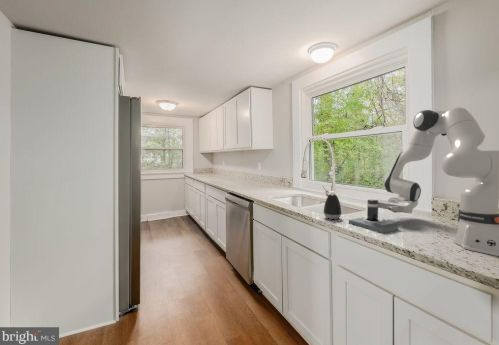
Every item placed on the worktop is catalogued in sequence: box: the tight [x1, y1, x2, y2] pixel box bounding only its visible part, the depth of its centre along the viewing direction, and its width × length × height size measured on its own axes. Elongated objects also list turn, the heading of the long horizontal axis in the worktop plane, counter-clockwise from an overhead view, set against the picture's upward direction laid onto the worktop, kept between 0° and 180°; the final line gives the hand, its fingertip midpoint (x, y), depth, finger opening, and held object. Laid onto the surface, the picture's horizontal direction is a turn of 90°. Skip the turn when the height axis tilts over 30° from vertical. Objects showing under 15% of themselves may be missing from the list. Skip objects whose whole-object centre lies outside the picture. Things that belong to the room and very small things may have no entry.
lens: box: [366, 199, 379, 222], centre depth 124 cm, size 5×5×12 cm
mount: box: [348, 216, 399, 234], centre depth 124 cm, size 20×12×4 cm, turn 28°
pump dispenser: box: [323, 193, 342, 220], centre depth 140 cm, size 10×10×15 cm
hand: (381, 207), depth 127 cm, fingers open, 8 cm apart
